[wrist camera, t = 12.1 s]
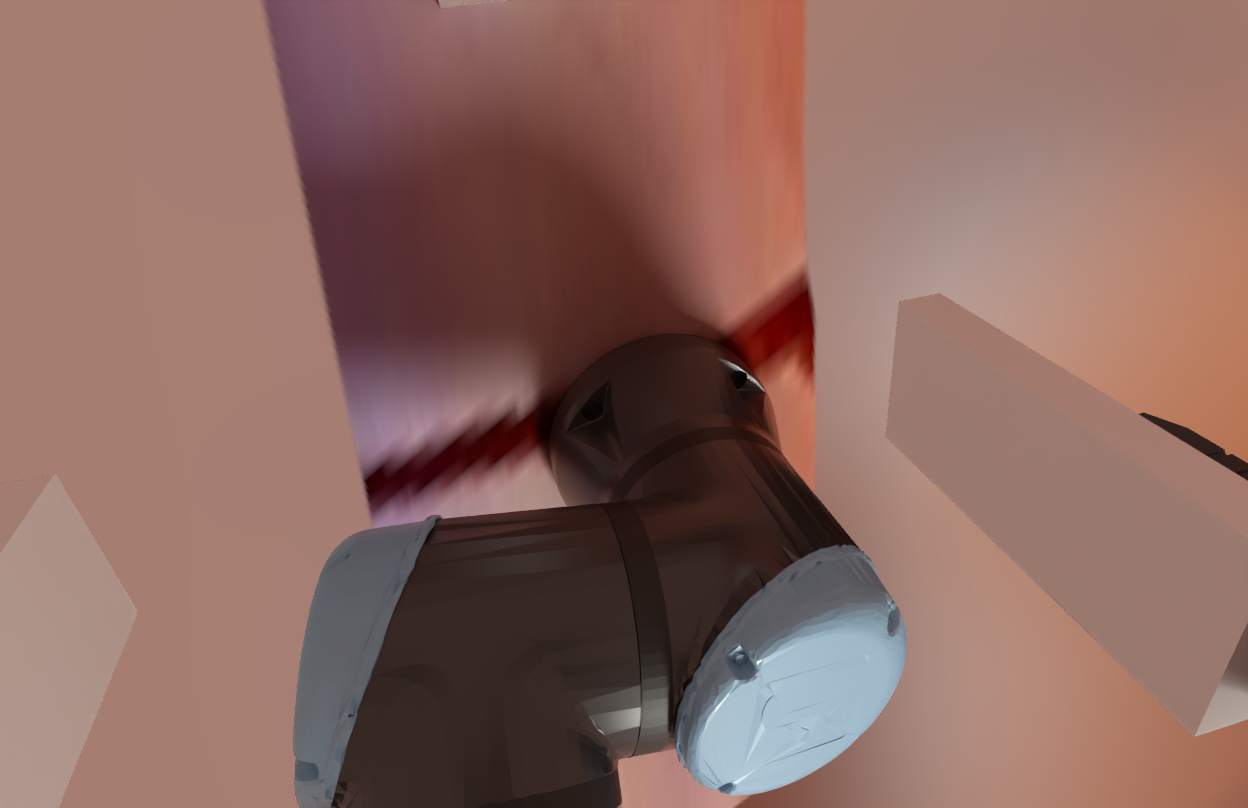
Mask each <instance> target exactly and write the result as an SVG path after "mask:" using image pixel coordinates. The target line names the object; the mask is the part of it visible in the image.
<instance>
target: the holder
mask: <svg viewBox="0 0 1248 808" xmlns="http://www.w3.org/2000/svg"><path fill="white" fill-rule="evenodd" d="M498 1H506V0H438V4H439V7H440V8H448V7H457V6H465V5H473V4H481V3H490V2H498Z"/></svg>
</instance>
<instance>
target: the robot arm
mask: <svg viewBox="0 0 1248 808" xmlns="http://www.w3.org/2000/svg"><path fill="white" fill-rule="evenodd" d="M894 348H895V349H894V358H893V367H892V368H893V369H892V378H891V388H890V397H889V408H888V418H887V427H886V438H887V439H888V440H889V441H891V443H892V444H894V445H895V446H896V447H897V448H898V449H899V450H900V451H901V452H902V453H903V454H904V455H905V456H906V457H907V458H908V459H909V460H910V461H911V462H912V463H913V464H914V465H915V466H916V467H917V468H918V469H919V470H920V471H921V472H922V473H923V474H924V475H925V476H926V477H928V479H930V480H931V481H932V482H933V483H934V484H935V485H936V486H937V487H938V488H939V489H940V490H941V491H942V492H943V493H944V494H945V495H946V496H947V497H948V498H949V499H950V500H951V501H952V502H953V503H954V504H955V505H956V506H957V507H958V508H959V509H960V510H962V512H963V513H965V514H966V515H967V516H968V517H969V518H970V519H971V520H972V521H973V522H974V523H975V524H976V525H977V526H978V527H979V528H980V529H981V530H982V531H983V532H984V533H985V534H986V535H987V536H988V537H989V538H990V539H991V540H992V541H993V542H994V543H995V544H996V545H997V546H999V547H1000V548H1001V549H1002V550H1003V551H1004V552H1005V553H1006V554H1007V555H1008V556H1009V557H1010V558H1011V559H1012V560H1013V561H1014V562H1015V563H1016V564H1017V565H1018V566H1019V567H1020V568H1021V569H1022V570H1023V571H1024V572H1025V573H1026V574H1027V575H1028V576H1029V577H1030V578H1031V579H1033V580H1034V581H1035V582H1036V583H1037V584H1038V585H1039V586H1040V587H1041V588H1042V589H1043V590H1044V591H1045V592H1046V593H1047V594H1048V595H1049V596H1050V597H1051V598H1052V599H1053V600H1054V601H1055V602H1056V603H1057V604H1058V605H1059V606H1060V607H1061V608H1062V609H1063V610H1064V611H1065V612H1067V614H1068V615H1069V616H1071V617H1072V618H1073V619H1074V620H1075V621H1076V622H1077V623H1078V624H1079V625H1080V626H1081V627H1082V628H1083V629H1084V630H1085V631H1086V632H1087V633H1088V634H1089V635H1090V636H1091V637H1092V638H1093V639H1094V640H1095V641H1096V642H1097V643H1098V644H1099V645H1100V646H1101V647H1103V649H1104V650H1106V651H1107V652H1108V653H1109V654H1110V655H1111V656H1112V657H1113V658H1114V659H1115V660H1116V661H1117V662H1118V663H1119V664H1120V665H1121V666H1122V667H1123V668H1124V669H1125V670H1126V671H1127V672H1128V673H1129V674H1130V675H1131V676H1132V677H1133V678H1134V679H1135V680H1136V681H1137V682H1138V683H1139V684H1140V685H1142V686H1143V687H1144V688H1145V689H1146V690H1147V691H1148V692H1149V693H1150V694H1151V695H1152V696H1153V697H1154V698H1155V699H1156V700H1157V701H1158V702H1159V703H1160V704H1161V705H1162V706H1163V707H1164V708H1165V709H1166V710H1167V711H1168V712H1170V713H1171V715H1172V716H1173V717H1175V718H1176V719H1177V720H1178V721H1179V722H1180V723H1181V724H1182V725H1183V726H1184V727H1185V728H1186V729H1187V730H1188V731H1189V732H1190V733H1191V734H1192V735H1193V736H1194V737H1195V736H1198V735H1201V734H1204V733H1207V732H1210V731H1213V730H1216V729H1220V728H1223V727H1225V726H1229V725H1231V724H1235V723H1238V722H1241V721H1244V720H1247V719H1248V463H1246V462H1245V461H1243V460H1241V459H1239V458H1238V457H1236V456H1234V455H1233V454H1230V455H1226V454H1225V450H1224V449H1222V448H1220V447H1219V446H1217V445H1216V444H1214V443H1212V442H1210V441H1209V440H1207V439H1205V438H1204V437H1202V436H1200V435H1199V434H1197V433H1195V432H1194V431H1192V430H1190V429H1188V428H1186V427H1183V426H1180V425H1178V424H1175V423H1172V422H1169V421H1166V420H1163V419H1160V418H1158V417H1155V416H1152V415H1149V414H1146V413H1141V414H1137V413H1136V412H1134V411H1132V410H1130V409H1129V408H1127V407H1126V406H1124V405H1122V404H1121V403H1119V402H1118V401H1116V400H1114V399H1113V398H1111V397H1109V396H1108V395H1106V394H1104V393H1103V392H1101V391H1099V390H1098V389H1096V388H1095V387H1093V386H1091V385H1090V384H1088V383H1086V382H1085V381H1083V380H1081V379H1080V378H1078V377H1076V376H1075V375H1073V374H1071V373H1070V372H1068V371H1067V370H1065V369H1063V368H1062V367H1060V366H1058V365H1057V364H1055V363H1053V362H1052V361H1050V360H1048V359H1047V358H1045V357H1043V356H1042V355H1040V354H1038V353H1037V352H1035V351H1034V350H1032V349H1030V348H1029V347H1027V346H1025V345H1024V344H1022V343H1021V342H1019V341H1017V340H1015V339H1014V338H1012V337H1011V336H1009V335H1007V334H1006V333H1004V332H1002V331H1001V330H999V329H997V328H996V327H994V326H993V325H991V324H989V323H988V322H986V321H984V320H983V319H981V318H979V317H978V316H976V315H975V314H973V313H971V312H969V311H968V310H966V309H965V308H963V307H961V306H960V305H958V304H956V303H955V302H953V301H952V300H950V299H948V298H947V297H945V296H943V295H942V294H940V293H939V294H934V295H929V296H924V297H919V298H914V299H909V300H904V301H899V308H898V317H897V327H896V337H895V347H894ZM549 455H550V462H551V466H552V470H553V473H554V476H555V480H556V483H557V486H558V489H559V492H560V494H561V496H562V498H563V500H564V502H565V503H566V505H567V507H558V508H548V509H538V510H528V511H518V512H508V513H497V514H487V515H477V516H467V517H457V518H447V519H442V517H441V515H432V516H429V517H427V518H426V519H425V521H421V522H415V523H408V524H402V525H395V526H388V527H382V528H375V529H368V530H364V531H360V532H358V533H355V534H353V535H351V536H349V537H348V538H346V539H345V540H344V541H342V542H341V543H340V544H339V545H338V546H337V547H336V548H335V550H334V551H333V552H332V553H331V555H330V557H329V558H328V560H327V561H326V563H325V565H324V567H323V570H322V572H321V574H320V577H319V580H318V583H317V586H316V589H315V592H314V596H313V599H312V603H311V607H310V612H309V616H308V620H307V625H306V631H305V636H304V641H303V647H302V653H301V660H300V667H299V675H298V683H297V693H296V703H295V715H294V734H293V735H294V736H293V750H294V755H295V756H296V762H295V779H294V780H295V781H294V788H295V795H296V798H297V803H298V805H299V807H300V808H623V804H622V797H621V789H620V782H619V774H618V761H619V760H620V759H623V758H630V757H634V756H639V755H644V754H650V753H655V752H662V751H667V750H673V749H676V751H677V755H678V758H679V761H680V763H681V764H683V767H684V768H686V769H687V770H688V772H690V774H691V775H692V776H693V777H694V779H695V780H696V781H698V782H699V783H700V784H701V785H702V786H704V787H707V788H709V789H711V790H715V789H718V790H719V791H720V792H721V793H724V794H728V795H749V794H756V793H762V792H766V791H770V790H773V789H776V788H779V787H782V786H785V785H787V784H790V783H792V782H794V781H797V780H798V779H801V778H803V777H804V776H807V775H809V774H811V773H812V772H814V771H815V770H817V769H819V768H820V767H822V766H824V765H825V764H827V763H828V762H830V761H831V760H832V759H834V758H835V757H837V756H838V755H839V754H840V753H842V752H843V751H844V750H845V749H846V748H848V747H849V746H850V745H851V744H852V743H853V742H854V741H855V740H856V738H858V737H859V736H860V735H861V734H862V733H863V732H864V731H865V730H866V729H867V728H868V727H869V726H870V725H871V724H872V723H873V721H874V720H875V719H876V718H877V717H878V715H879V714H880V713H881V711H882V710H883V708H884V706H885V705H886V704H887V702H888V700H889V699H890V697H891V696H892V694H893V692H894V690H895V688H896V685H897V684H898V681H899V679H900V676H901V674H902V670H903V666H904V663H905V658H906V649H907V637H906V629H905V624H904V620H903V617H902V615H901V612H900V610H899V608H898V606H897V605H896V603H895V602H894V600H893V599H892V597H891V596H890V594H889V593H888V591H887V590H886V588H885V587H884V585H883V584H882V582H881V581H880V579H879V578H878V576H877V575H876V571H875V569H874V565H873V563H872V562H871V560H870V558H869V557H868V556H867V555H865V554H864V551H861V550H860V549H859V548H858V546H857V545H856V544H855V543H854V541H853V540H852V539H851V538H850V536H849V535H848V534H847V533H846V532H845V530H844V529H843V528H842V527H841V525H840V524H839V523H838V522H837V521H836V519H835V518H834V517H833V516H832V514H831V513H830V512H829V511H828V510H827V508H826V507H825V506H824V505H823V503H822V502H821V501H820V500H819V498H818V497H817V496H816V495H815V494H814V492H813V491H812V490H811V489H810V487H809V486H808V485H807V484H806V483H805V481H804V480H803V479H802V478H801V476H800V475H799V474H798V473H797V471H796V470H795V469H794V468H793V467H792V465H791V464H790V463H789V462H788V461H787V459H786V458H785V457H784V456H783V454H782V449H781V444H780V439H779V434H778V429H777V424H776V420H775V415H774V410H773V406H772V403H771V401H770V398H769V396H768V394H767V392H766V390H765V388H764V386H763V385H762V383H761V382H760V380H759V379H758V378H757V377H756V375H755V374H754V373H753V372H752V371H751V370H750V368H749V367H748V366H747V365H746V364H745V363H744V362H743V361H742V359H741V358H739V357H738V356H737V355H736V354H735V353H733V352H732V351H731V350H729V349H728V348H726V347H724V346H722V345H720V344H718V343H716V342H714V341H711V340H708V339H705V338H701V337H697V336H691V335H680V334H670V335H659V336H653V337H648V338H644V339H640V340H637V341H634V342H631V343H629V344H626V345H624V346H622V347H619V348H617V349H615V350H613V351H612V352H610V353H608V354H607V355H605V356H603V357H602V358H600V359H599V360H598V361H596V362H595V363H594V364H592V365H591V366H590V367H589V368H588V369H587V370H586V371H585V372H583V373H582V374H581V375H580V377H579V378H578V379H577V380H576V381H575V382H574V383H573V385H572V386H571V387H570V389H569V390H568V391H567V393H566V394H565V396H564V398H563V399H562V401H561V403H560V405H559V407H558V409H557V412H556V414H555V417H554V420H553V423H552V427H551V432H550V439H549ZM136 615H137V610H136V608H135V607H134V605H133V603H132V602H131V600H130V598H129V596H128V595H127V593H126V591H125V590H124V588H123V586H122V585H121V583H120V581H119V580H118V578H117V576H116V575H115V573H114V571H113V570H112V568H111V566H110V564H109V563H108V561H107V559H106V558H105V556H104V554H103V553H102V551H101V550H100V548H99V546H98V544H97V543H96V541H95V539H94V538H93V536H92V534H91V532H90V531H89V529H88V527H87V526H86V524H85V523H84V521H83V519H82V517H81V516H80V514H79V512H78V511H77V509H76V507H75V506H74V504H73V502H72V500H71V499H70V497H69V495H68V494H67V492H66V491H65V489H64V487H63V485H62V484H61V482H60V480H59V479H58V477H57V475H56V473H52V474H47V475H42V476H38V477H32V478H27V479H23V480H18V481H13V482H8V483H3V484H0V808H59V805H60V803H61V800H62V798H63V795H64V793H65V790H66V788H67V786H68V783H69V781H70V778H71V776H72V773H73V771H74V768H75V766H76V763H77V761H78V758H79V756H80V753H81V751H82V748H83V746H84V744H85V741H86V738H87V736H88V734H89V731H90V729H91V726H92V724H93V721H94V719H95V716H96V713H97V711H98V709H99V706H100V704H101V701H102V699H103V697H104V694H105V692H106V689H107V687H108V684H109V682H110V679H111V677H112V674H113V672H114V669H115V667H116V664H117V662H118V659H119V657H120V655H121V652H122V649H123V647H124V645H125V642H126V640H127V637H128V635H129V632H130V630H131V627H132V625H133V622H134V620H135V617H136Z"/></svg>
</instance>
